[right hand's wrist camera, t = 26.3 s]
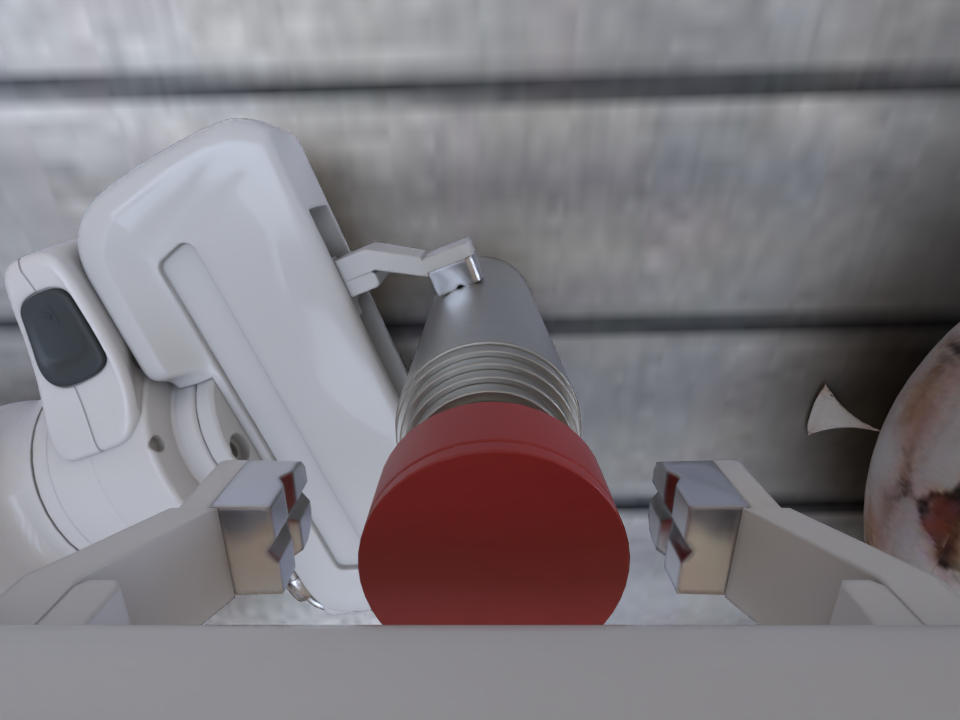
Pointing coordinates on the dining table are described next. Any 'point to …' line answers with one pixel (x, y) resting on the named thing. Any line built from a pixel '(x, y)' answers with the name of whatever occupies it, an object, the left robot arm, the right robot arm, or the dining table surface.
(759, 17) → the dining table surface
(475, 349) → the bottle
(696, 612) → the dining table surface
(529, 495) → the cap
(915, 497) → the plush toy
